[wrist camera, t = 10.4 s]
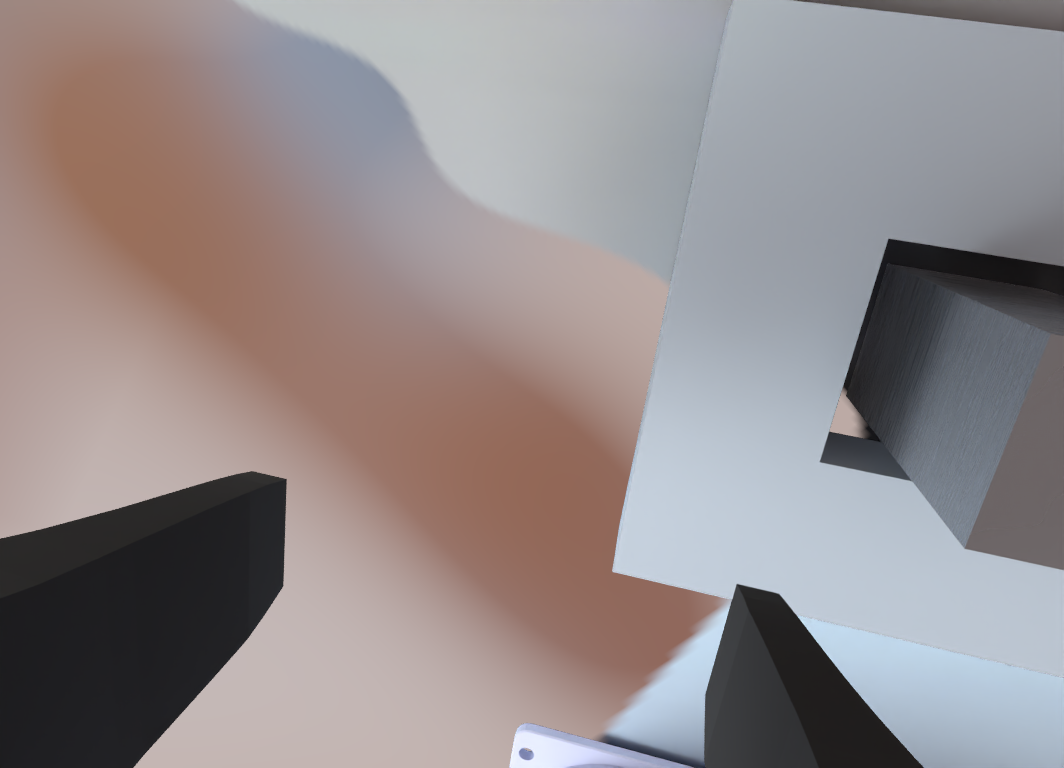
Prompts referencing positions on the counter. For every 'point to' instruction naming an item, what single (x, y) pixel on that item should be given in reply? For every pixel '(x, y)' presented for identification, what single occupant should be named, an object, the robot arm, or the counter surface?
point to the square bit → (972, 405)
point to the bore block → (839, 317)
